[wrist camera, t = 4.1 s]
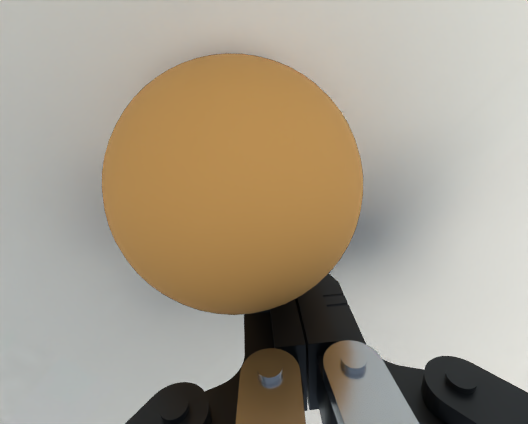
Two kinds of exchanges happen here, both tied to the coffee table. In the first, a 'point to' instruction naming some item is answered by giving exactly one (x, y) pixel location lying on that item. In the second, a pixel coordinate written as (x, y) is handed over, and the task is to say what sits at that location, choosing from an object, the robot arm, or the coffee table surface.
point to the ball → (232, 184)
